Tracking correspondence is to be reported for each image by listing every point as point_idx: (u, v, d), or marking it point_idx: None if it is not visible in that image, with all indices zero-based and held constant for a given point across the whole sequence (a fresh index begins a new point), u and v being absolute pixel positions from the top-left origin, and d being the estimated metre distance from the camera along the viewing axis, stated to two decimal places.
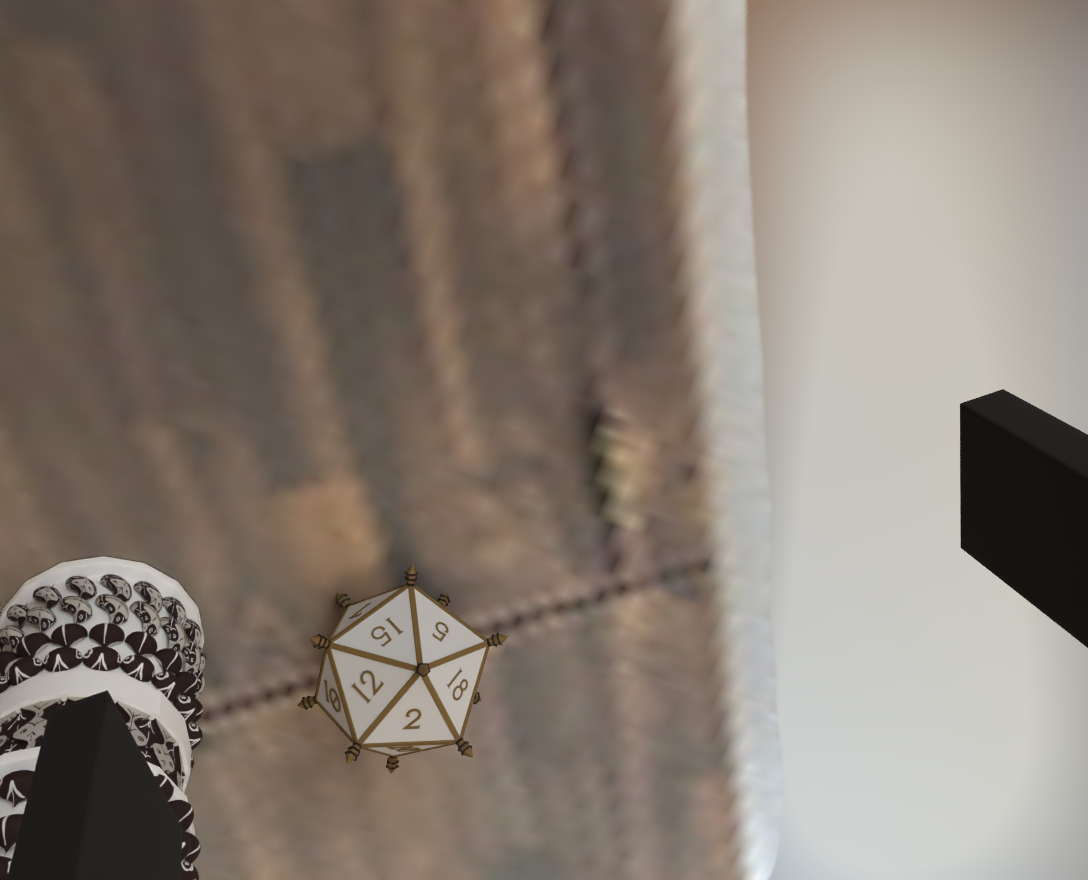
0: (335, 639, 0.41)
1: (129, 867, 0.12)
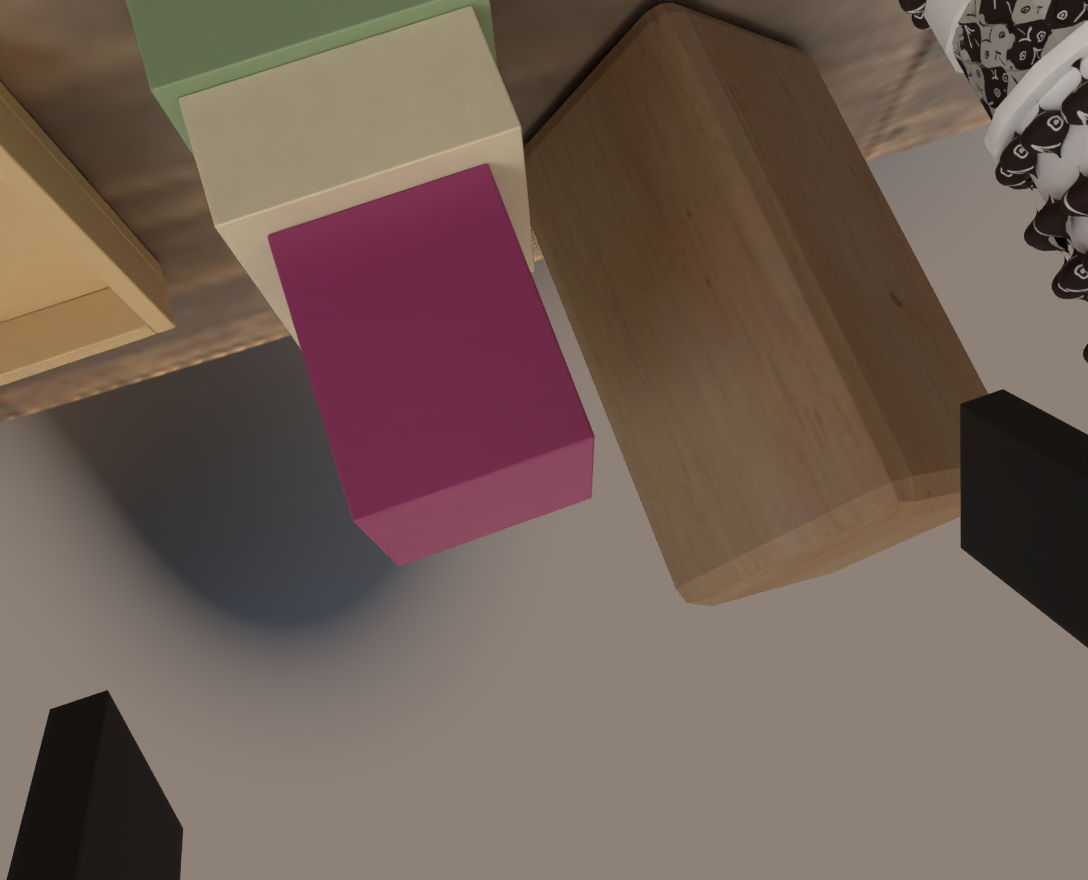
0: None
1: (129, 867, 0.12)
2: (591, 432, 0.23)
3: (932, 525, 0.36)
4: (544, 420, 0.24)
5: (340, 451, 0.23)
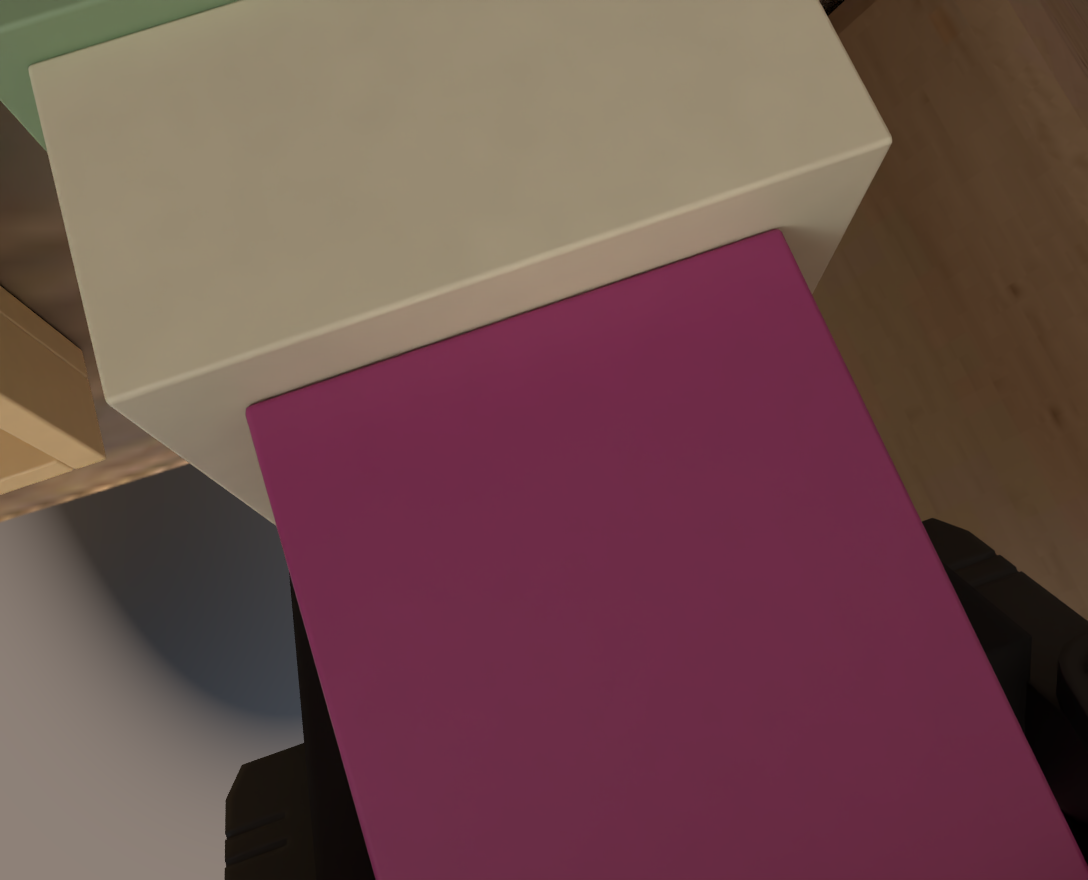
0: None
1: None
2: None
3: None
4: None
5: None
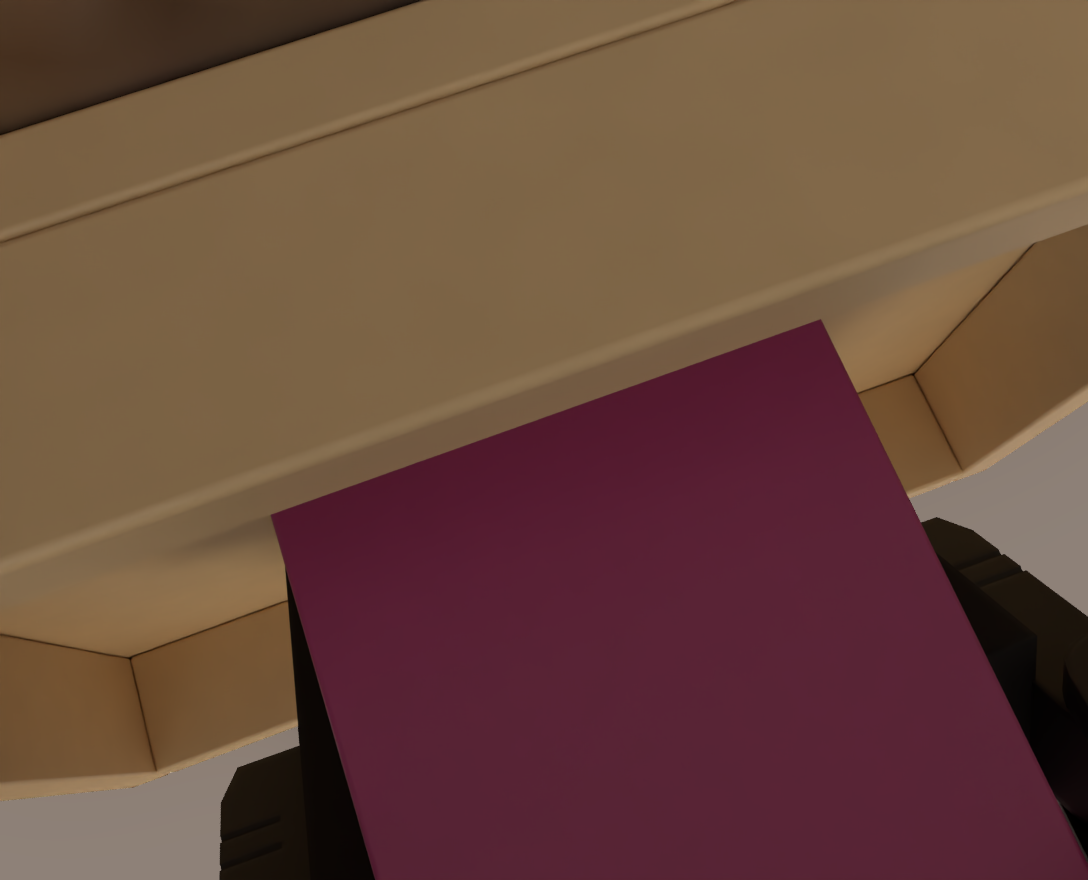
0: None
1: None
2: None
3: None
4: None
5: None
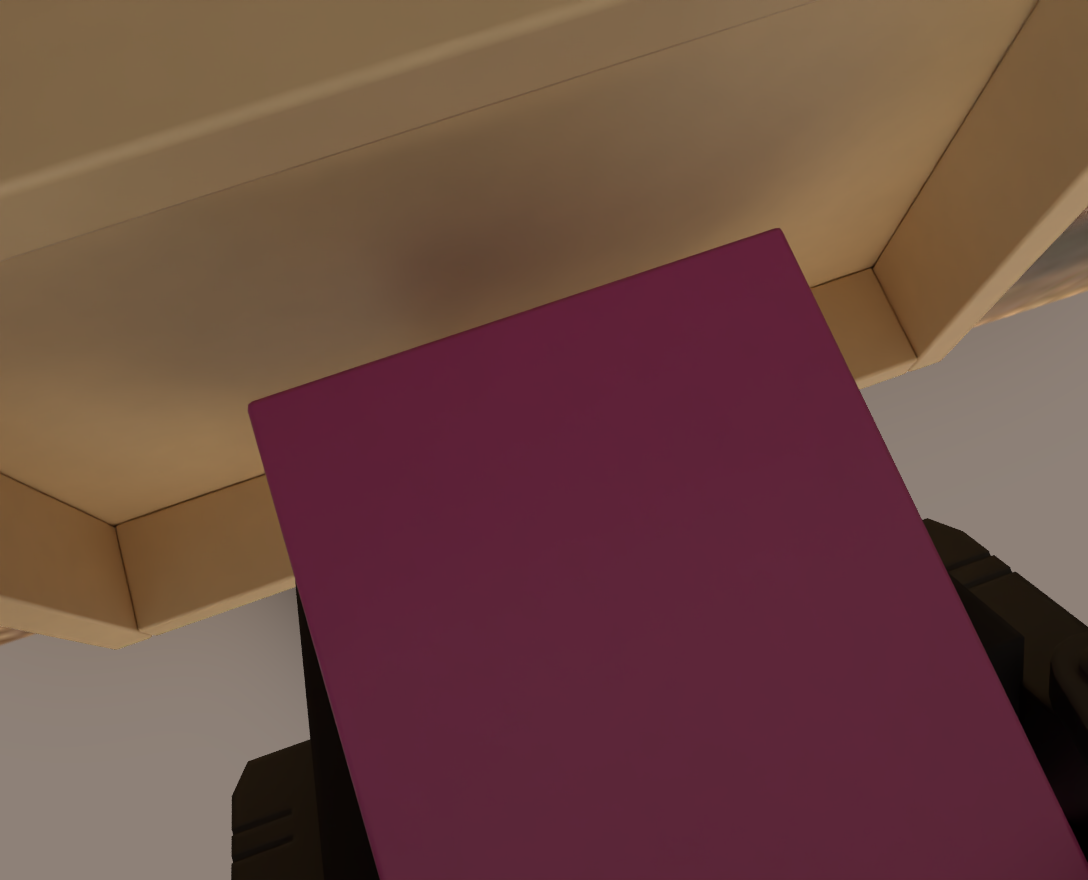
0: None
1: None
2: None
3: None
4: None
5: None
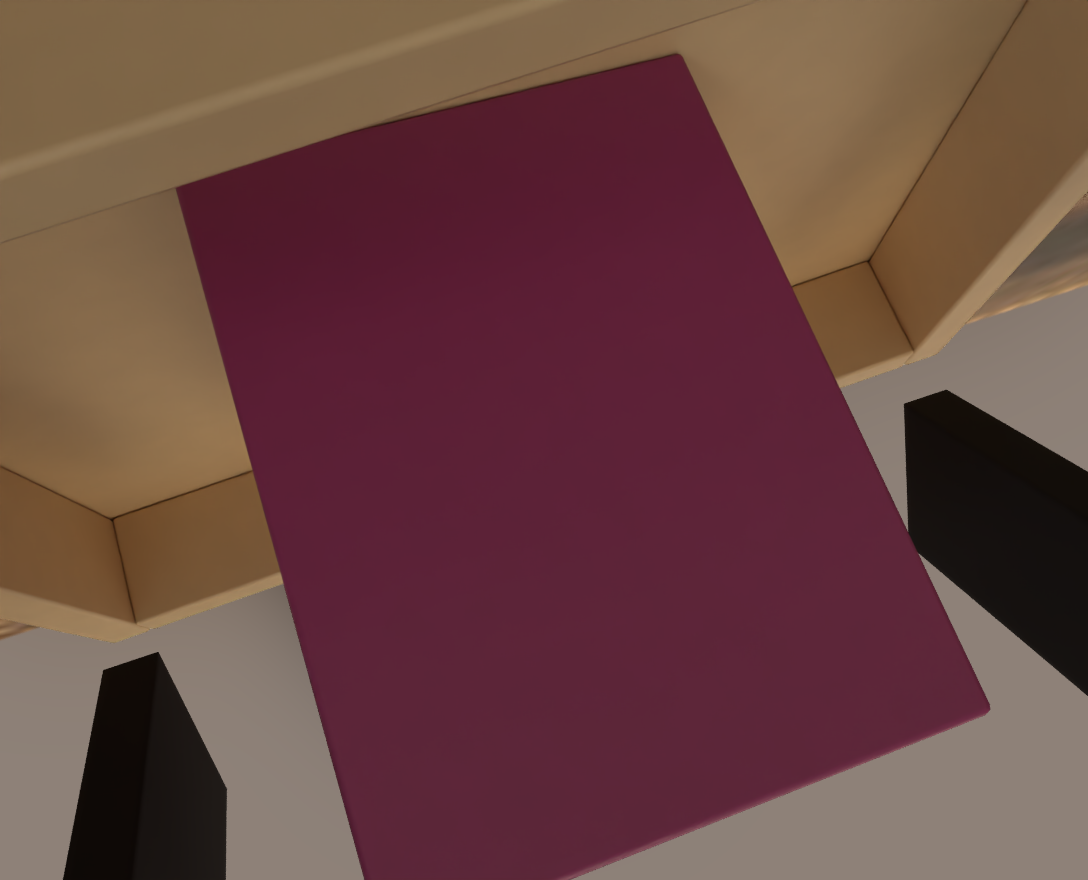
0: None
1: (184, 817, 0.12)
2: (984, 696, 0.09)
3: None
4: (868, 662, 0.09)
5: (348, 737, 0.09)
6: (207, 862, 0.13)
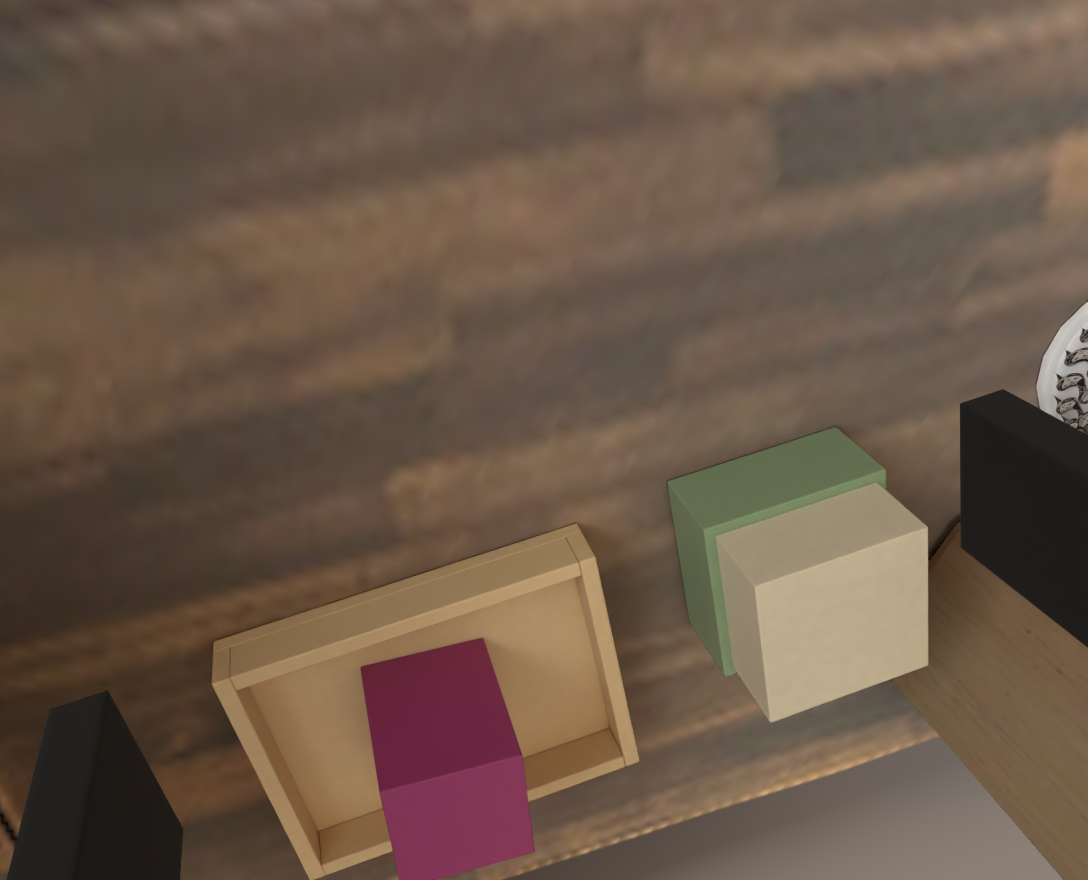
0: None
1: (129, 867, 0.12)
2: (520, 752, 0.41)
3: None
4: (495, 747, 0.42)
5: (379, 760, 0.42)
6: None
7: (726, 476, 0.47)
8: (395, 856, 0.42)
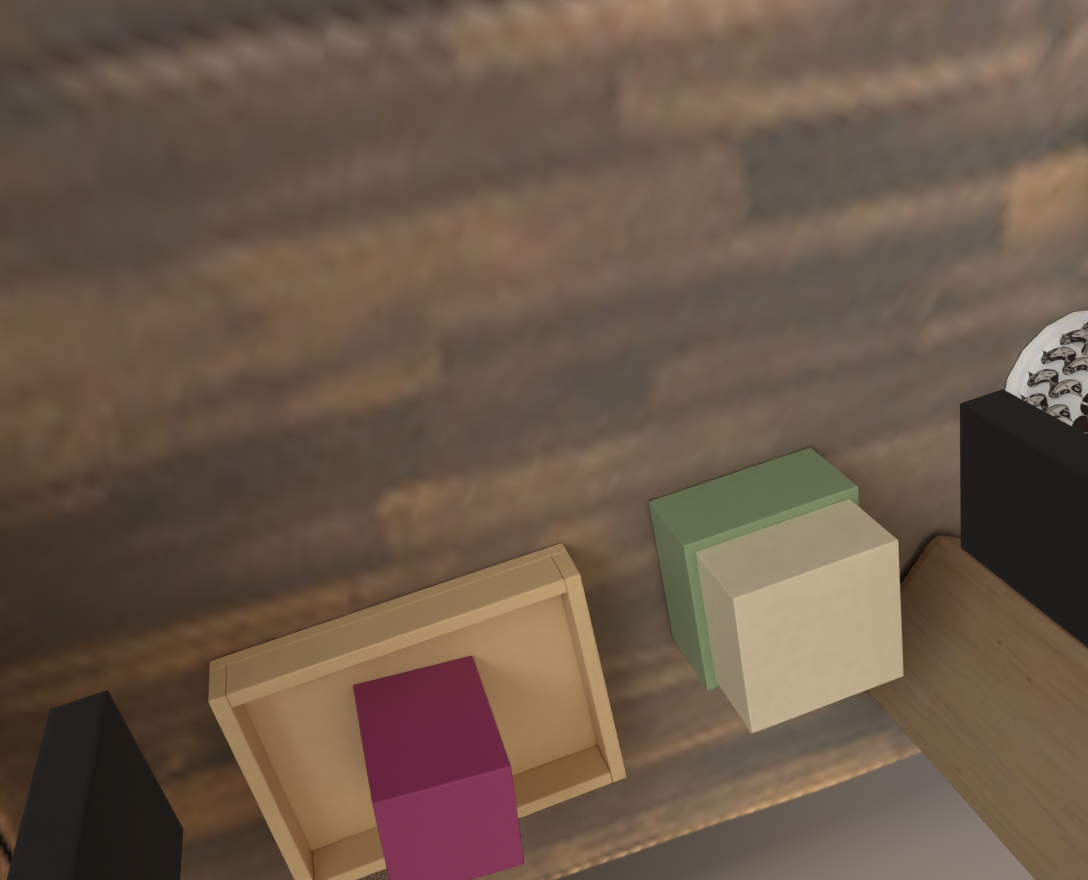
0: None
1: (129, 865, 0.12)
2: (509, 764, 0.42)
3: None
4: (484, 759, 0.43)
5: (371, 773, 0.43)
6: None
7: (705, 496, 0.49)
8: (388, 868, 0.43)
